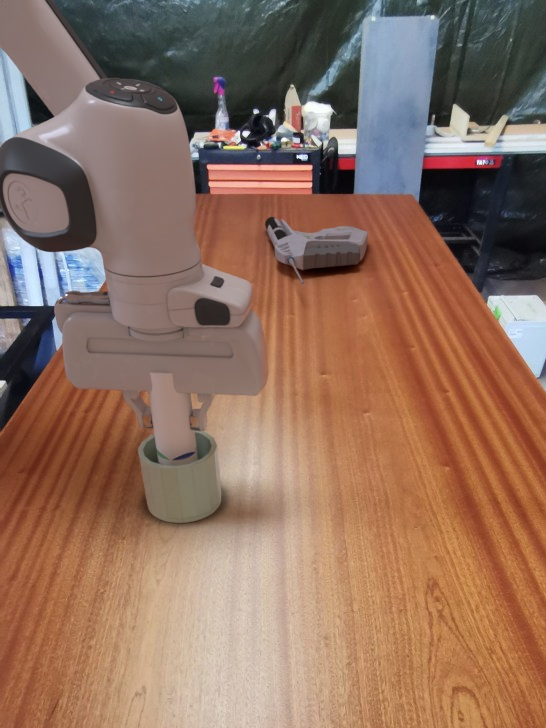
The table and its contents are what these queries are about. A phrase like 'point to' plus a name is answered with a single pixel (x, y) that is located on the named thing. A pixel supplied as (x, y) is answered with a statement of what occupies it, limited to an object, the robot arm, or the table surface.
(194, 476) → the pale green hollow cylinder
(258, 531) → the table surface
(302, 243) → the power tool
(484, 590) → the table surface
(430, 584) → the table surface
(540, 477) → the table surface
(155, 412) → the tube
